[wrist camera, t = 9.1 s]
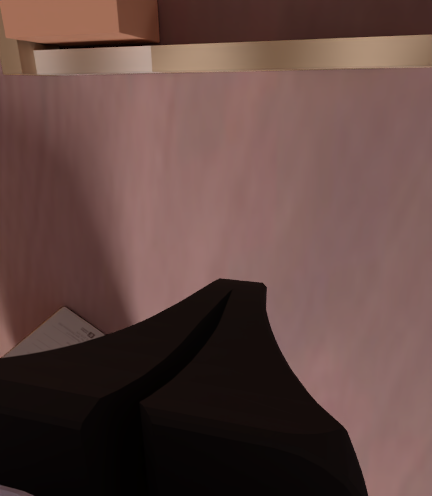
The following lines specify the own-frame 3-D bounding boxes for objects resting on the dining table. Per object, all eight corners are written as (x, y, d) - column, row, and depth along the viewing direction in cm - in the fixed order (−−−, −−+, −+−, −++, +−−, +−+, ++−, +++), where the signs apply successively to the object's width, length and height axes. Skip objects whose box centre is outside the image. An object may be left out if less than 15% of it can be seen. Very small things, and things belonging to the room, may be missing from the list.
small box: (64, 302, 26) (-154, 479, 14) (145, 360, 26) (-7, 584, 14) (24, 377, 30) (-177, 568, 18) (95, 428, 30) (-59, 652, 18)
